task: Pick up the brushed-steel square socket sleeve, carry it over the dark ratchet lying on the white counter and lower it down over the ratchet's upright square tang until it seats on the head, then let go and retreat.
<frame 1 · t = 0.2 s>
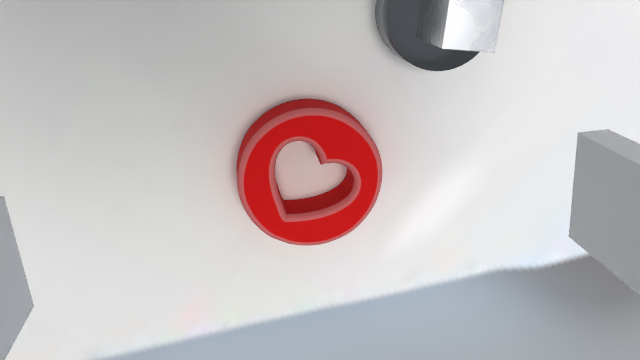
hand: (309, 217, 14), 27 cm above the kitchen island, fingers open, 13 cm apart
decorative ornament: (305, 165, 43), on the kitchen island
ratchet: (427, 9, 40), on the kitchen island
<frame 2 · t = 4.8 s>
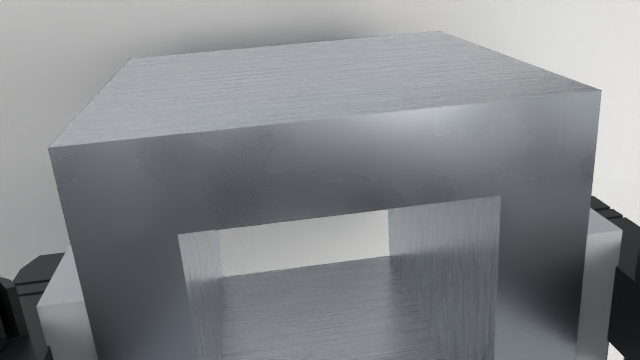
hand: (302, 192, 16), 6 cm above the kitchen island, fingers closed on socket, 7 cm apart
socket: (300, 188, 16), point 6 cm above the kitchen island, touching gripper
when the fingers open (3 cm above the kitchen island, at t = 9.5 s): socket stays where it is, resting on ratchet.
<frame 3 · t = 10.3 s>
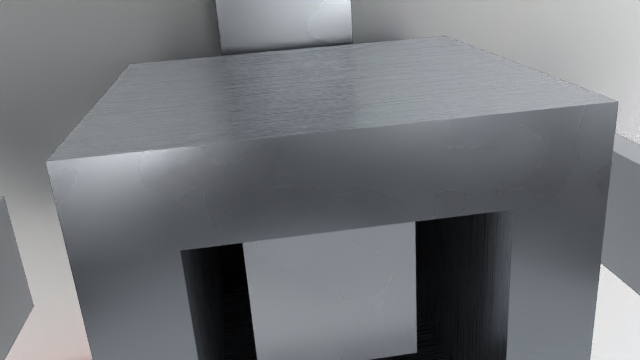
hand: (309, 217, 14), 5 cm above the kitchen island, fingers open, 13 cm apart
ratchet: (290, 156, 18), on the kitchen island, touching socket
socket: (303, 195, 16), point 3 cm above the kitchen island, touching ratchet
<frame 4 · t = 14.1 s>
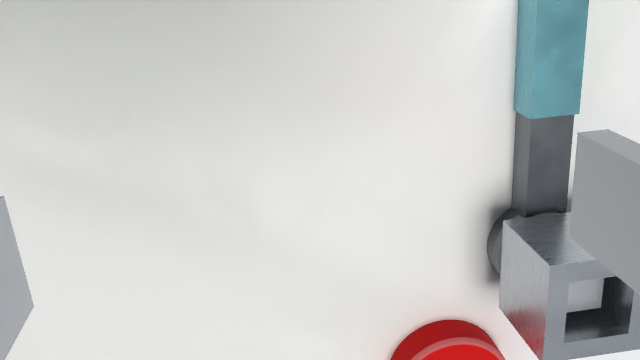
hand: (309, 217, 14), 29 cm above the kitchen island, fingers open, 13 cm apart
ratchet: (528, 240, 49), on the kitchen island, touching socket
socket: (547, 259, 46), point 3 cm above the kitchen island, touching ratchet
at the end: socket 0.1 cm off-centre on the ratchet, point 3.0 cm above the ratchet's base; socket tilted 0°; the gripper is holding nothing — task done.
